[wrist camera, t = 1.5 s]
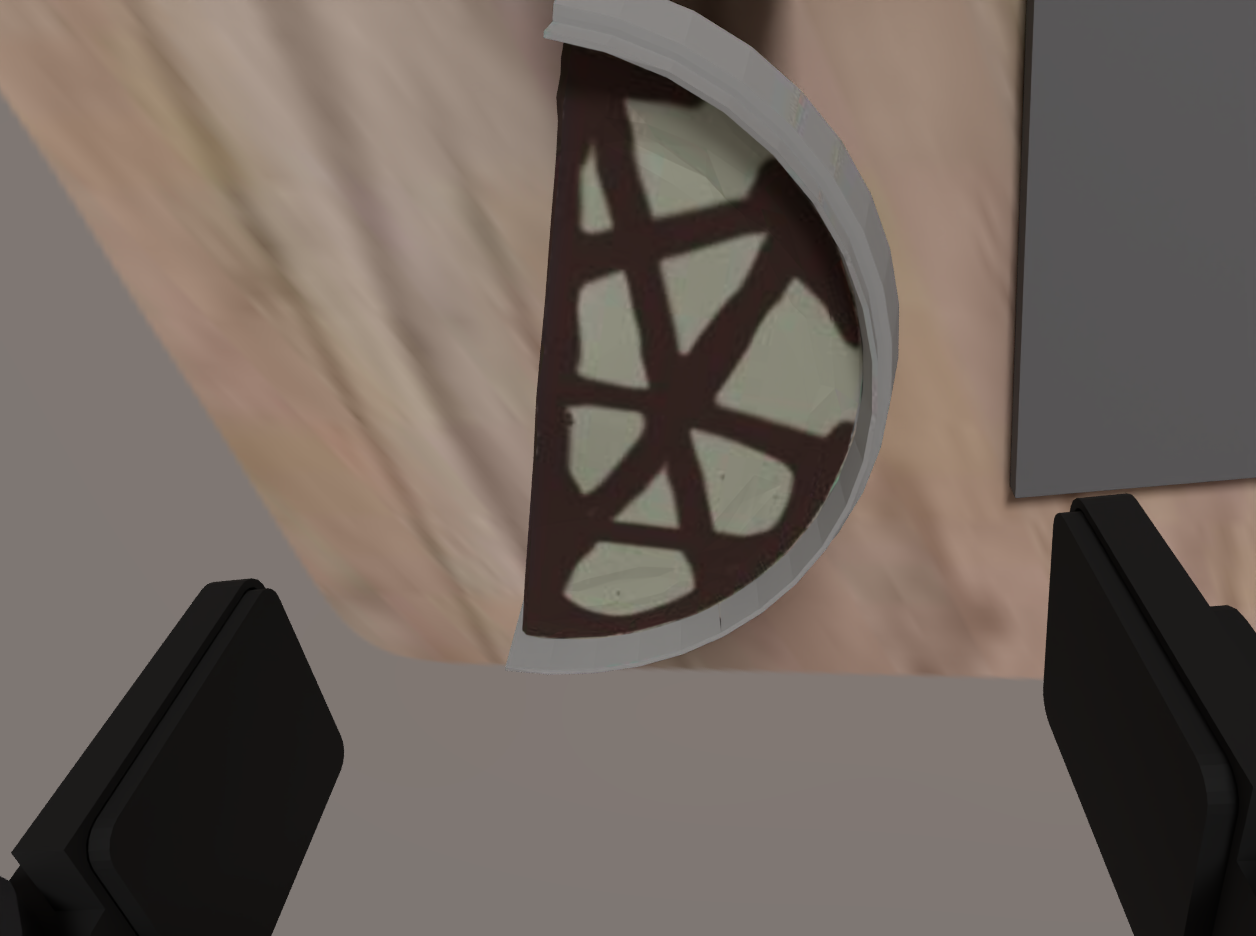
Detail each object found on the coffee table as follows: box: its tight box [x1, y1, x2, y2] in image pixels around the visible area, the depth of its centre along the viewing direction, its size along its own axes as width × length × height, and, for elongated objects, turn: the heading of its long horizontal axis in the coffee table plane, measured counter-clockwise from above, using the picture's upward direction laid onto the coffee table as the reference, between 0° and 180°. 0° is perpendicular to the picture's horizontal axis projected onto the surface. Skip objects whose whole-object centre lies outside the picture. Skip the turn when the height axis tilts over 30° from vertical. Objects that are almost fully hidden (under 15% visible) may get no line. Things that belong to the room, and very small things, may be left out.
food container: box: [505, 0, 899, 674], centre depth 20 cm, size 12×6×10 cm, turn 174°
